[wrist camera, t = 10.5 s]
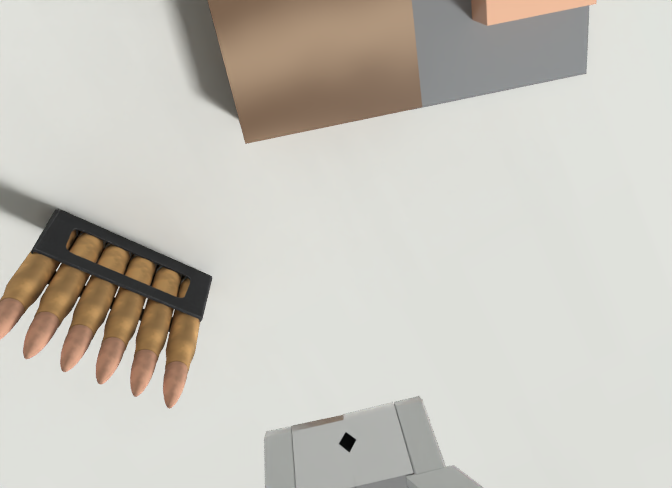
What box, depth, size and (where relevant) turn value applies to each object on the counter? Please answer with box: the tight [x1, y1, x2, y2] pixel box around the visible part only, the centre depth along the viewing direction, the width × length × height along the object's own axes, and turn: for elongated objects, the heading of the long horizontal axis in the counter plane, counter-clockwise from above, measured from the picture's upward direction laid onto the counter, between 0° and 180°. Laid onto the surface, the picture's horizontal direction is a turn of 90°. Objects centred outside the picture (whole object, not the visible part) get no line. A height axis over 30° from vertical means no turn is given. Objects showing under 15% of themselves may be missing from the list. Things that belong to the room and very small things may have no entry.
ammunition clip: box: [0, 209, 212, 408], centre depth 32 cm, size 11×2×12 cm, turn 58°
